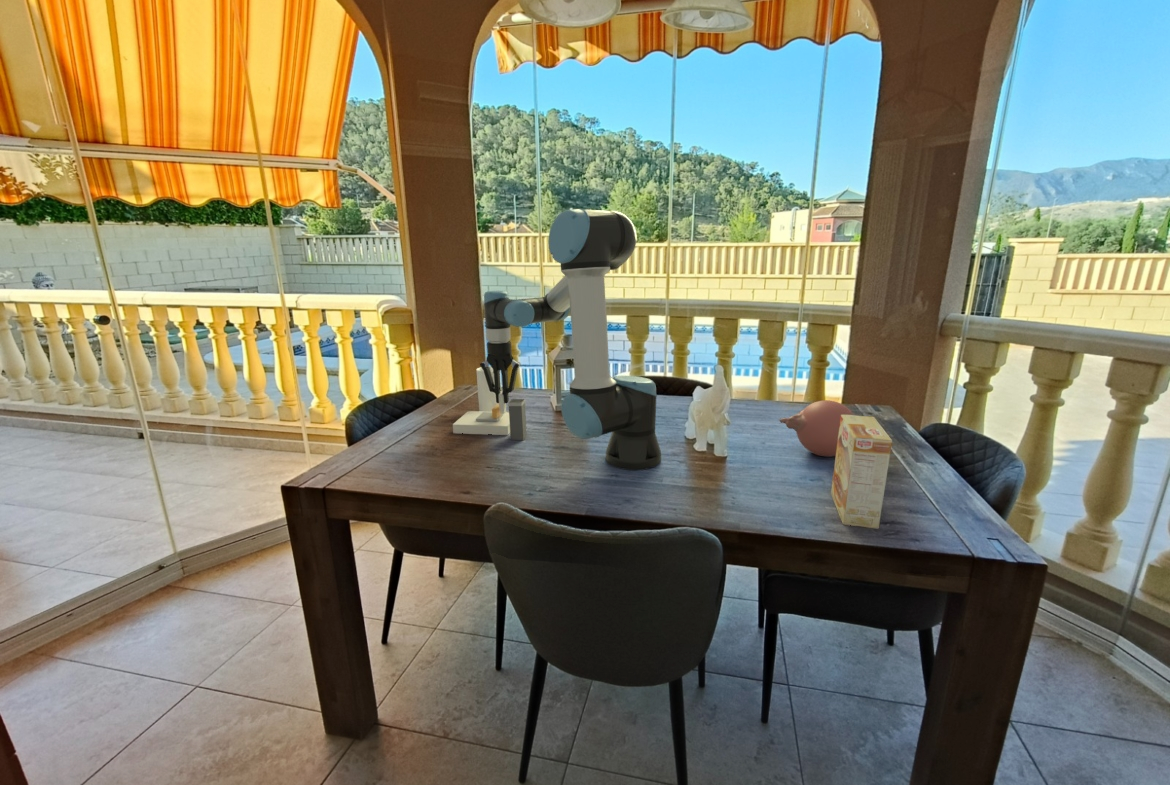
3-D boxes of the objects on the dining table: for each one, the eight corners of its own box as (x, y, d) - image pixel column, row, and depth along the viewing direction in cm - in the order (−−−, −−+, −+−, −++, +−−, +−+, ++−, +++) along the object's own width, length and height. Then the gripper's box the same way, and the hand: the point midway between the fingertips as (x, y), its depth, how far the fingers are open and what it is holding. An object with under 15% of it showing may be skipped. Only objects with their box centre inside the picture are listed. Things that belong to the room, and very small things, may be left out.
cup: (483, 408, 187) (480, 365, 182) (505, 408, 186) (502, 366, 181) (476, 414, 179) (472, 371, 175) (498, 415, 178) (495, 371, 174)
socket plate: (519, 420, 172) (519, 412, 171) (508, 435, 159) (507, 426, 158) (468, 419, 174) (468, 411, 174) (453, 433, 161) (452, 424, 160)
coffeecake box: (829, 492, 118) (839, 413, 113) (863, 496, 116) (875, 416, 111) (841, 524, 104) (853, 436, 99) (879, 529, 102) (894, 439, 97)
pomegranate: (773, 441, 150) (777, 391, 146) (846, 446, 146) (852, 395, 142) (780, 461, 136) (785, 407, 132) (861, 467, 131) (869, 411, 127)
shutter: (503, 415, 168) (502, 404, 167) (496, 421, 162) (496, 410, 161) (483, 414, 169) (482, 403, 168) (476, 421, 163) (475, 409, 162)
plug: (526, 435, 158) (524, 399, 155) (523, 440, 154) (521, 403, 151) (514, 435, 158) (511, 398, 155) (510, 440, 154) (508, 402, 151)
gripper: (522, 339, 161) (525, 409, 167) (482, 338, 163) (487, 408, 169) (515, 343, 154) (519, 416, 160) (474, 342, 155) (480, 415, 162)
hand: (503, 412), depth 165 cm, fingers closed
